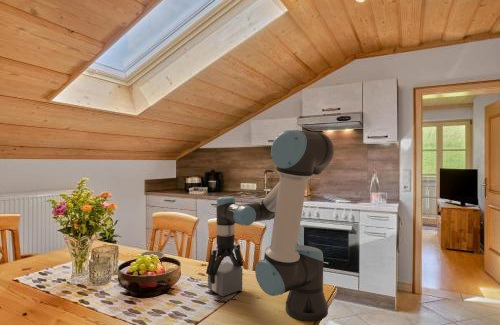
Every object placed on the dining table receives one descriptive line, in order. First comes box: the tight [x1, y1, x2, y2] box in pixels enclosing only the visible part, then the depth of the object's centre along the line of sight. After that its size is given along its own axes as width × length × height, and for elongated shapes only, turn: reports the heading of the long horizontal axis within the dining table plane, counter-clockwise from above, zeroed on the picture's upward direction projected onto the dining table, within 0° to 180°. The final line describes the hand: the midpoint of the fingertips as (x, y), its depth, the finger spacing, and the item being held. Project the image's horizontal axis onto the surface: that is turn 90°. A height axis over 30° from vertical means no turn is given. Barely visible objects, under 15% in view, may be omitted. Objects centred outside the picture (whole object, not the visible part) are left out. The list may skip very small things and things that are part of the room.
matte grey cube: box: [207, 261, 243, 297], centre depth 130 cm, size 10×10×9 cm
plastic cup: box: [139, 250, 166, 265], centre depth 141 cm, size 11×11×12 cm
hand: (225, 287), depth 130 cm, fingers closed on matte grey cube, 10 cm apart
